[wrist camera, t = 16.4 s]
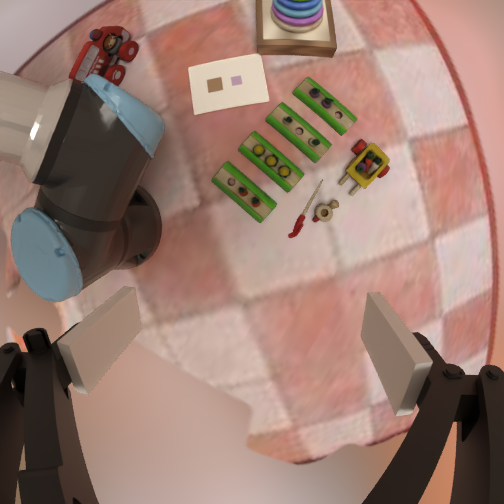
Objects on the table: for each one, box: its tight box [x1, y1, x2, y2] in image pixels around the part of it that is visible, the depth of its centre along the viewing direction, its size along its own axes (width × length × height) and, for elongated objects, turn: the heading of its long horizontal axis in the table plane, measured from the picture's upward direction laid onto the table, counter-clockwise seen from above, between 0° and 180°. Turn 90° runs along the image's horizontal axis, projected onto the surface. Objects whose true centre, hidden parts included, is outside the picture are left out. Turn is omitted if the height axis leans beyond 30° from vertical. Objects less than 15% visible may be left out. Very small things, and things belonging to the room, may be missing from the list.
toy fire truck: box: [69, 26, 138, 86], centre depth 34 cm, size 7×12×10 cm, turn 154°
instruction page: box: [188, 54, 269, 115], centre depth 39 cm, size 12×9×1 cm
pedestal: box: [256, 0, 337, 58], centre depth 34 cm, size 12×12×4 cm
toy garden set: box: [212, 77, 390, 238], centre depth 40 cm, size 23×19×5 cm
